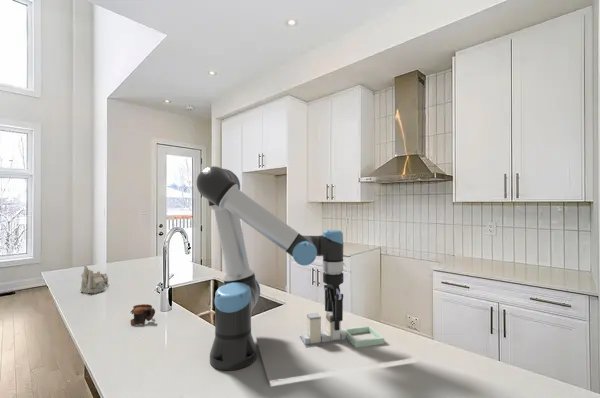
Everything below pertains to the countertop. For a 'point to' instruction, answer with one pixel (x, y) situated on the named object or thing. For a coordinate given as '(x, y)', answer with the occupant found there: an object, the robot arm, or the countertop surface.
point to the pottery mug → (142, 313)
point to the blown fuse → (330, 325)
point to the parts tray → (366, 342)
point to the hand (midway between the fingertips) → (333, 335)
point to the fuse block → (323, 339)
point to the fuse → (314, 327)
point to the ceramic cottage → (93, 281)
